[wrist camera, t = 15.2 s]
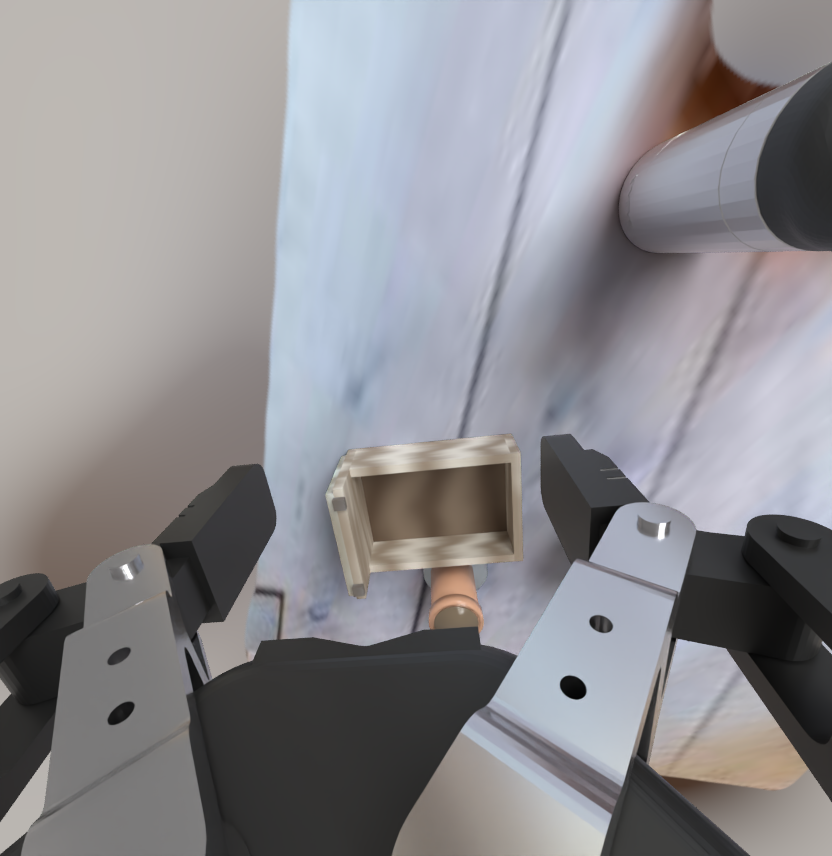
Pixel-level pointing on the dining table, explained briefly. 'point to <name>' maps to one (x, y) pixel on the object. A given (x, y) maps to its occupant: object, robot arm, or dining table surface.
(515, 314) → the dining table surface
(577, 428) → the dining table surface
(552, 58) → the dining table surface
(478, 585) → the saucer
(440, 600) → the pot
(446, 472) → the wooden box
